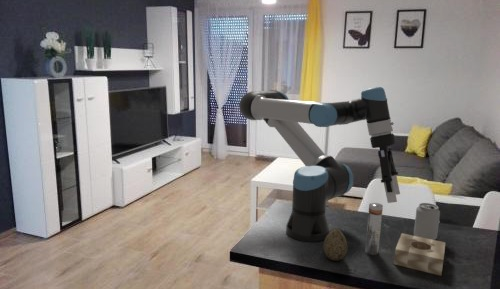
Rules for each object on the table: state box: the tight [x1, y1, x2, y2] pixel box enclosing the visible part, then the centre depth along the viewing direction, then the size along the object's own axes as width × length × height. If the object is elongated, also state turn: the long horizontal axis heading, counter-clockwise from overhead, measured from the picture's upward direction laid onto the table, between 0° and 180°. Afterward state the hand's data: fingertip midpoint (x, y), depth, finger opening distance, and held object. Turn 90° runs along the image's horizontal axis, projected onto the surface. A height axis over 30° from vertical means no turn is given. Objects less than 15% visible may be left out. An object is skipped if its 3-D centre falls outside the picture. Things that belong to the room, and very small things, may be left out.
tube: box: [364, 202, 384, 256], centre depth 124 cm, size 4×4×16 cm
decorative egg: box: [323, 228, 348, 262], centre depth 119 cm, size 7×7×10 cm
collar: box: [393, 232, 446, 277], centre depth 120 cm, size 13×13×5 cm
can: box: [413, 202, 441, 240], centre depth 136 cm, size 8×8×12 cm
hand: (394, 198), depth 127 cm, fingers open, 13 cm apart
